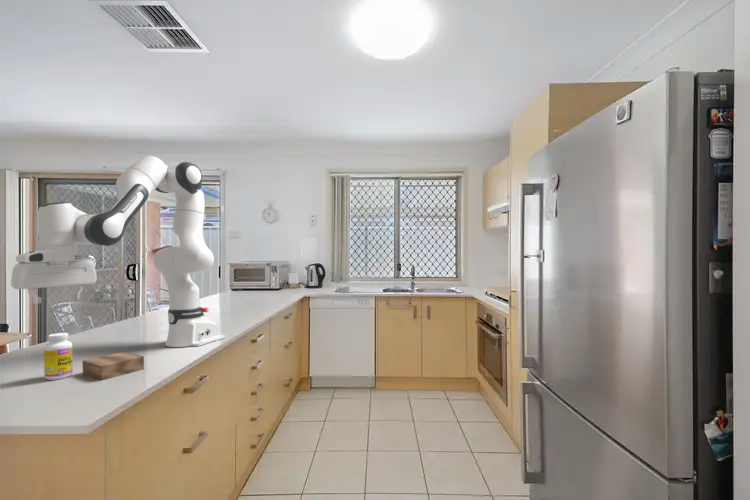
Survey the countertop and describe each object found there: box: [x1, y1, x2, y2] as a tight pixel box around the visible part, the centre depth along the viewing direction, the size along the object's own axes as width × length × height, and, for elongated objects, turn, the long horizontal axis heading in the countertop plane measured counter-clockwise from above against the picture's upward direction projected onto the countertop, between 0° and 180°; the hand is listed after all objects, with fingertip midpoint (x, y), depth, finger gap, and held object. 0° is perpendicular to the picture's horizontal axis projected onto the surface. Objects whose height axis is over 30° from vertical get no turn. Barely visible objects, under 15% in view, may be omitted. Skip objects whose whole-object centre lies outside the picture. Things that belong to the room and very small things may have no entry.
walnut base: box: [82, 351, 145, 381], centre depth 123 cm, size 12×12×4 cm
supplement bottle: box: [43, 332, 74, 381], centre depth 119 cm, size 7×7×13 cm
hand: (57, 301), depth 118 cm, fingers open, 8 cm apart
